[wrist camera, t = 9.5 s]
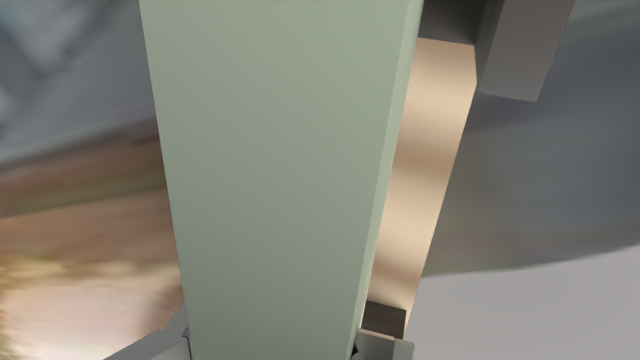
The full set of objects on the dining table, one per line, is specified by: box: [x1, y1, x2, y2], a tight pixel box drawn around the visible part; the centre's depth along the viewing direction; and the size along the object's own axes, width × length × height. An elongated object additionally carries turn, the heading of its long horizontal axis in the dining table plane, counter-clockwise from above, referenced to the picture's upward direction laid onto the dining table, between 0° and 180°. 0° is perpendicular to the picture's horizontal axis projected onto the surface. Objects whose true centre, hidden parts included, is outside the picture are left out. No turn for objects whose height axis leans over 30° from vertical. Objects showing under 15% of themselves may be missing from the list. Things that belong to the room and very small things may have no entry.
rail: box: [139, 0, 424, 360], centre depth 12 cm, size 20×3×5 cm, turn 176°
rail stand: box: [361, 0, 575, 340], centre depth 17 cm, size 29×8×14 cm, turn 176°
